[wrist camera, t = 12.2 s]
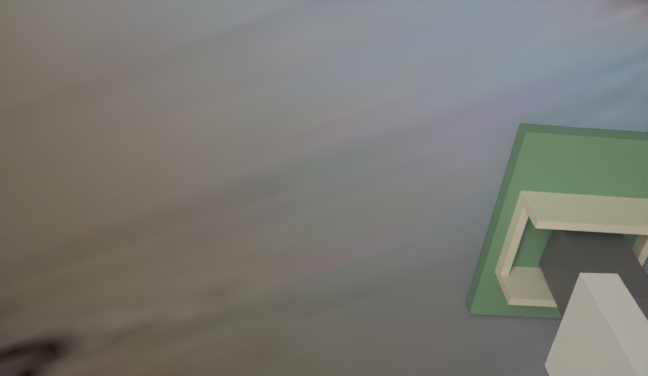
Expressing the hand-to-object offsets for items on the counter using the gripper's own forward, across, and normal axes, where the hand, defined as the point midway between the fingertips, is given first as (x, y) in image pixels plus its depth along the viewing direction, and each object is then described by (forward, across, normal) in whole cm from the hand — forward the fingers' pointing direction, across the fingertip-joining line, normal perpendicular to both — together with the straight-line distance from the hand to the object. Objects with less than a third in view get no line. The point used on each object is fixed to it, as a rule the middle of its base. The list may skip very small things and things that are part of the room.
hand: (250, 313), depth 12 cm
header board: (+26, +21, -17) cm, 37 cm away
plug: (+24, +21, -17) cm, 37 cm away
